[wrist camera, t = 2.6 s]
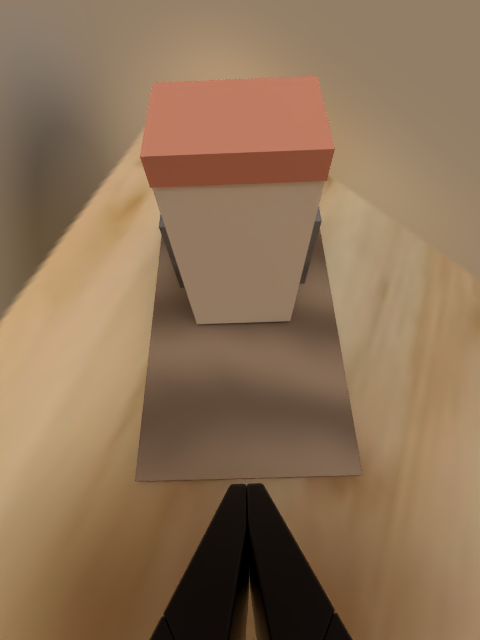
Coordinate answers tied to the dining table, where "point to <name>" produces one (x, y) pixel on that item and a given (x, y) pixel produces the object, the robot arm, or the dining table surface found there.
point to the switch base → (246, 387)
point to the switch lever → (238, 188)
